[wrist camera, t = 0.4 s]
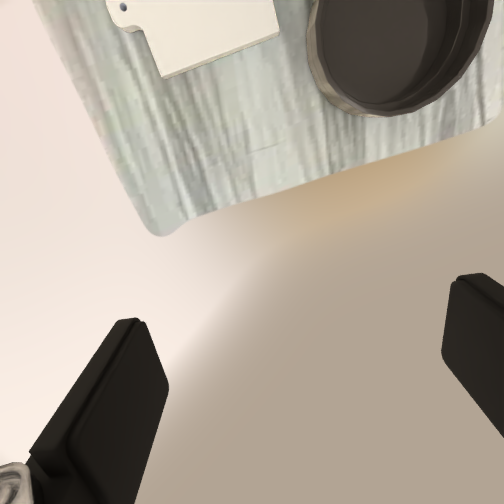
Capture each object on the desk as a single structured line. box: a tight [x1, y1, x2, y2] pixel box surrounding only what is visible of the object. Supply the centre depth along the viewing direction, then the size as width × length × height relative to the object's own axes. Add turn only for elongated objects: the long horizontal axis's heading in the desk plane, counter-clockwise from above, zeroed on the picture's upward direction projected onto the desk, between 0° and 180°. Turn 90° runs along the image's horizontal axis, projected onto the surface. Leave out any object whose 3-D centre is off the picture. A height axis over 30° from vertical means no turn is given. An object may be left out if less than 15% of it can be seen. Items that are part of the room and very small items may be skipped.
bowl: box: [306, 0, 494, 117], centre depth 28 cm, size 15×15×6 cm
